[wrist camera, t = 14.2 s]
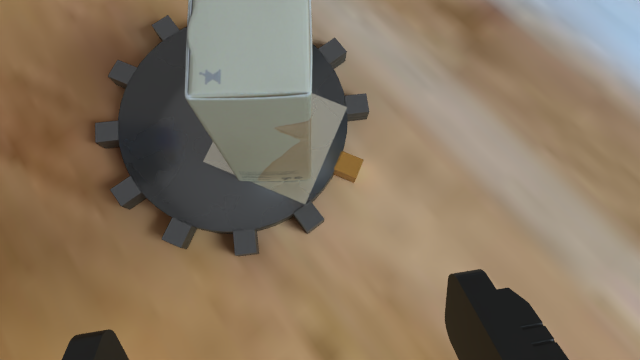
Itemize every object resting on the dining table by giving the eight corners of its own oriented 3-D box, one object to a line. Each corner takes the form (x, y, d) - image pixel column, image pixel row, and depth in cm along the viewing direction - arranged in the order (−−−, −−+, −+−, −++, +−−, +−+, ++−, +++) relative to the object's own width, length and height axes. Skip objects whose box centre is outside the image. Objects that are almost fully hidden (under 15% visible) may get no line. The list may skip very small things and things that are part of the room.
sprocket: (179, -24, 29) (172, -39, 28) (403, 62, 28) (407, 51, 27) (54, 191, 26) (40, 186, 24) (305, 300, 25) (305, 302, 23)
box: (311, 181, 25) (313, 105, 14) (236, 182, 25) (179, 106, 14) (310, 96, 26) (311, -36, 15) (238, 96, 26) (187, -35, 15)
